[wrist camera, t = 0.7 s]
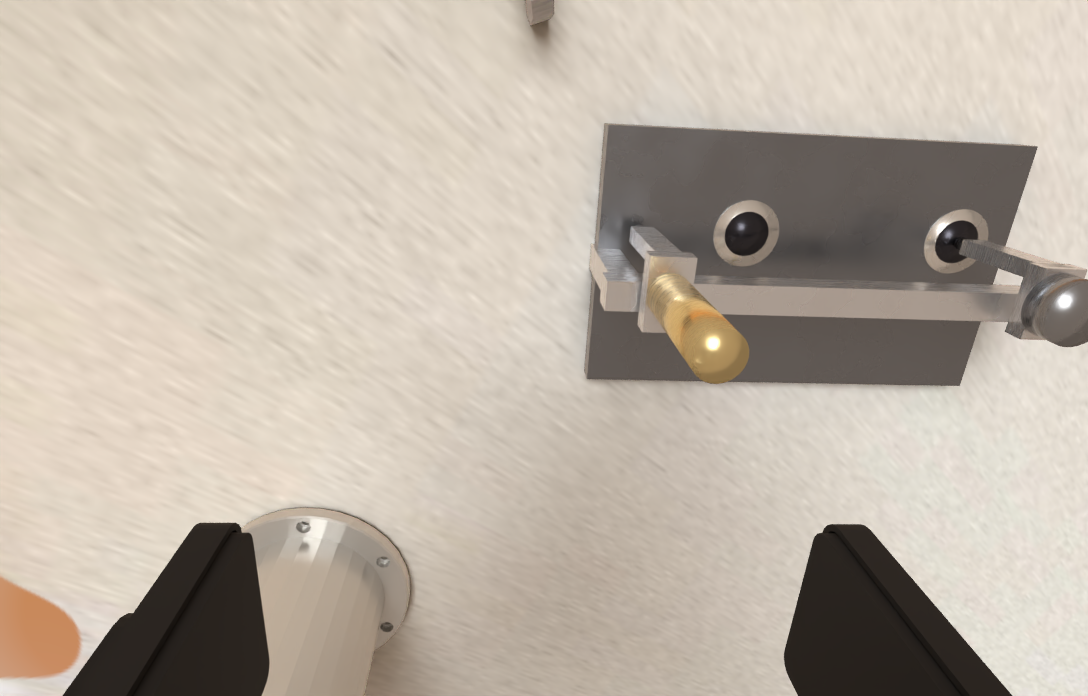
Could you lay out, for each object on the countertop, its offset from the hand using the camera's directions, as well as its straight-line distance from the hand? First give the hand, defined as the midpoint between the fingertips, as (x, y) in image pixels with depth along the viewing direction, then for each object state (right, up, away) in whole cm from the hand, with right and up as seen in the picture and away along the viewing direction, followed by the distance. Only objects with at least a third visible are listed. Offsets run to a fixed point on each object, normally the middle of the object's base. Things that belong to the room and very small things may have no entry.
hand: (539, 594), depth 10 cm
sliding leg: (+5, +9, +24) cm, 26 cm away
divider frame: (+14, +9, +26) cm, 31 cm away
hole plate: (+14, +9, +26) cm, 31 cm away
